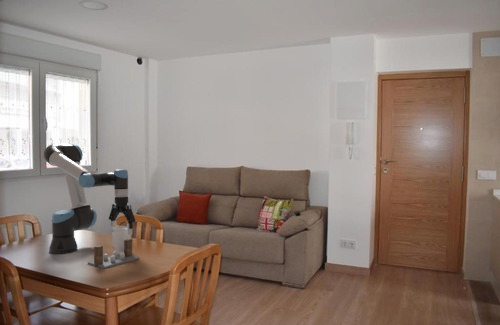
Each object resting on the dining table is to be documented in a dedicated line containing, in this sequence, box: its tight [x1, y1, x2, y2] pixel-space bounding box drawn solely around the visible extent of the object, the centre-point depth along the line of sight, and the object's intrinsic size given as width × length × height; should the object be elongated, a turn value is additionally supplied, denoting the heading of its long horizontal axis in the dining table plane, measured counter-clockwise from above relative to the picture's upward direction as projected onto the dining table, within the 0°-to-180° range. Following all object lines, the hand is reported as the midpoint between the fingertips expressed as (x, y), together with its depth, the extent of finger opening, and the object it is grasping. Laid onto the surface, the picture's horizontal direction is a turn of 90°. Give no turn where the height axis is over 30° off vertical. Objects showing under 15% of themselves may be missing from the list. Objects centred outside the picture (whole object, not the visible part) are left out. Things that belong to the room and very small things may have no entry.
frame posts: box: [93, 238, 133, 268], centre depth 221 cm, size 3×22×10 cm, turn 146°
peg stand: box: [87, 251, 140, 270], centre depth 221 cm, size 14×22×4 cm, turn 146°
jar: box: [111, 225, 132, 255], centre depth 239 cm, size 11×10×15 cm
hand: (122, 233), depth 239 cm, fingers open, 13 cm apart
